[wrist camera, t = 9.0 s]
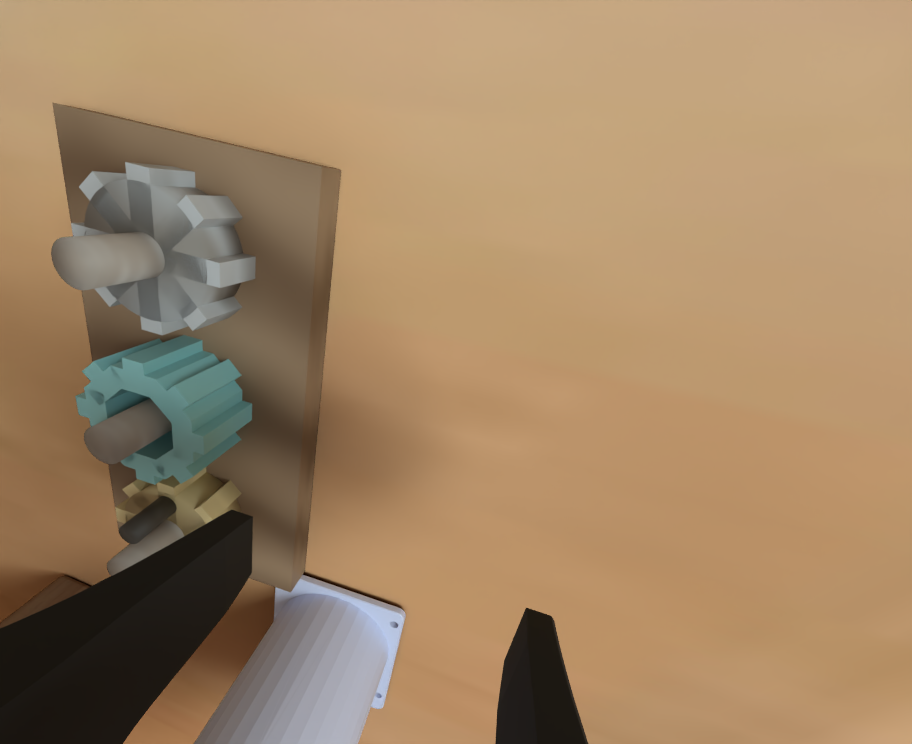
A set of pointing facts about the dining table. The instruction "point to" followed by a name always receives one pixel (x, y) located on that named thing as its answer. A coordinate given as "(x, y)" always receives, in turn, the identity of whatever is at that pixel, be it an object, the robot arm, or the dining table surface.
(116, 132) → the gear board
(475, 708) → the dining table surface
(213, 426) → the teal gear
